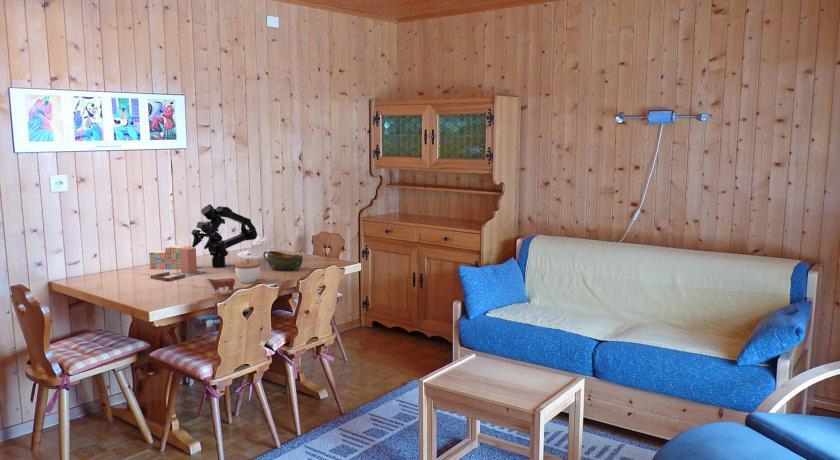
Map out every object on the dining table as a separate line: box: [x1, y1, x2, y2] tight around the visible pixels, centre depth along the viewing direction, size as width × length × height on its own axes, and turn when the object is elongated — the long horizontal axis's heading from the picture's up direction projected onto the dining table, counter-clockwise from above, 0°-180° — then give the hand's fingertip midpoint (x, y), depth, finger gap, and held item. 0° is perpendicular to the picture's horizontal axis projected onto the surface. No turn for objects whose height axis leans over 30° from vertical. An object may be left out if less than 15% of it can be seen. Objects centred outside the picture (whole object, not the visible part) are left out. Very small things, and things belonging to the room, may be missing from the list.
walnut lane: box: [150, 271, 186, 282], centre depth 343 cm, size 11×13×2 cm
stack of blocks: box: [148, 245, 192, 270], centre depth 367 cm, size 21×6×12 cm, turn 86°
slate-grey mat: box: [172, 269, 206, 277], centre depth 355 cm, size 12×12×1 cm
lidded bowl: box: [234, 259, 262, 284], centre depth 336 cm, size 13×13×11 cm
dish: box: [237, 235, 280, 259], centre depth 409 cm, size 25×25×11 cm
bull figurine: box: [205, 276, 236, 296], centre depth 310 cm, size 4×13×8 cm, turn 95°
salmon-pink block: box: [180, 246, 198, 274], centre depth 354 cm, size 6×6×13 cm
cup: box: [263, 250, 304, 272], centre depth 364 cm, size 13×20×10 cm, turn 56°
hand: (198, 247), depth 359 cm, fingers open, 9 cm apart
